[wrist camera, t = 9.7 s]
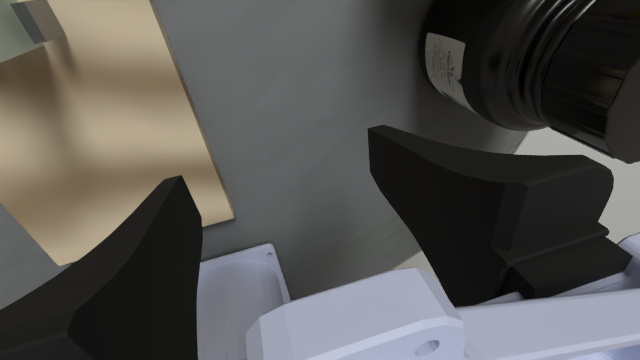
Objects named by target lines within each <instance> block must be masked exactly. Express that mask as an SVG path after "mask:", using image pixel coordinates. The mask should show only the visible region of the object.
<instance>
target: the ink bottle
mask: <svg viewBox="0 0 640 360" xmlns="http://www.w3.org/2000/svg"><path fill="white" fill-rule="evenodd" d="M419 56H420V63H421V67H422V70H423V73H424V75H425V77H426V79H427V80H428V82H429V83H430V84H431V85H432V87H433V88H434V89H435V90H437V91H438V92H439V93H440V94H442V95H444V96H445V97H447V98H449V99H451V100H452V101H454V102H456V103H458V104H460V105H461V106H463V107H465V108H467V109H469V110H470V111H472V112H474V113H476V114H478V115H479V116H481V117H483V118H485V119H487V120H489V121H490V122H492V123H494V124H496V125H498V126H500V127H503V128H506V129H510V130H515V131H533V130H539V129H543V128H546V127H549V128H551V129H552V130H554V131H556V132H558V133H560V134H562V135H564V136H567V137H569V138H571V139H573V140H575V141H577V142H580V143H581V144H583V145H585V146H588V147H590V148H592V149H594V150H596V151H598V152H600V153H602V154H604V155H607V156H609V157H611V158H613V159H615V158H616V159H618V160H621V161H623V162H625V163H627V164H632V163H634V162H639V161H640V0H434V1H433V3H432V5H431V7H430V9H429V11H428V14H427V16H426V19H425V22H424V25H423V28H422V32H421V37H420V45H419Z"/></svg>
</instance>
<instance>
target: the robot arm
mask: <svg viewBox="0 0 640 360" xmlns="http://www.w3.org/2000/svg"><path fill="white" fill-rule="evenodd" d="M368 143H369V160H370V172H371V174H372V176H373V178H374V180H375V182H376V184H377V186H378V187H379V189H380V191H381V192H382V194H383V195H384V196H385V198H386V199H387V200H388V202H389V203H390V204H391V206H392V207H393V208H394V210H395V211H396V212H397V214H398V215H399V216H400V218H401V219H402V220H403V222H404V223H405V224H406V226H407V227H408V228H409V230H410V231H411V233H412V234H413V236H414V237H415V239H416V240H417V242H418V244H419V246H420V247H421V249H422V251H423V252H424V254H425V256H426V257H427V259H428V261H429V263H430V265H431V267H432V268H433V270H434V272H435V274H436V276H437V277H438V279H439V281H440V283H441V285H442V287H443V289H444V291H445V293H446V295H447V296H446V295H445V293H444V292H443V290H442V289H441V288H440V286H439V285H438V283H437V282H436V280H435V279H434V277H433V276H432V275H431V274H430V273H427V272H425V271H422V270H420V269H417V268H404V269H396V270H389V271H386V272H383V273H380V274H377V275H373V276H370V277H367V278H364V279H361V280H357V281H354V282H351V283H348V284H345V285H341V286H338V287H335V288H332V289H329V290H325V291H322V292H319V293H316V294H313V295H309V296H306V297H303V298H300V299H296V300H293V301H291V299H290V296H289V293H288V289H287V286H286V283H285V280H284V277H283V274H282V271H281V268H280V264H279V261H278V258H277V255H276V252H275V249H274V246H273V245H272V244H270V243H268V244H264V245H260V246H257V247H253V248H250V249H246V250H243V251H239V252H236V253H232V254H229V255H225V256H222V257H218V258H215V259H211V260H208V261H204V262H201V263H200V261H201V251H202V241H203V235H202V217H201V215H200V213H199V210H198V208H197V206H196V204H195V202H194V200H193V198H192V196H191V193H190V191H189V189H188V187H187V185H186V183H185V181H184V179H183V176H182V175H179V176H175V177H171V178H167V179H164V180H163V181H162V182H161V183H160V184H159V185H158V186H157V187H156V188H155V189H154V190H153V191H152V192H151V193H150V194H149V195H148V196H147V198H146V199H145V200H144V201H143V202H142V203H141V204H140V205H139V206H138V207H137V208H136V209H135V210H134V211H133V213H132V214H130V215H129V216H128V217H127V218H126V219H125V220H124V221H123V222H122V223H121V224H120V225H119V226H118V227H117V228H116V229H115V230H114V231H113V232H112V233H111V234H110V235H109V236H108V237H106V238H105V239H104V240H103V241H102V242H101V243H99V244H98V245H97V246H96V247H95V248H93V249H92V250H91V251H90V252H88V253H87V254H86V255H85V256H83V257H82V258H81V259H79V260H78V261H76V262H75V263H74V264H72V265H71V266H69V267H68V268H67V269H65V270H64V271H62V272H61V273H60V274H58V275H57V276H55V277H54V278H52V279H51V280H49V281H48V282H46V283H45V284H43V285H42V286H40V287H38V288H37V289H35V290H34V291H32V292H30V293H29V294H27V295H25V296H24V297H22V298H20V299H19V300H17V301H15V302H14V303H12V304H10V305H8V306H7V307H5V308H3V309H1V310H0V360H640V232H639V233H637V234H633V235H630V236H628V237H626V238H624V239H622V240H621V241H620V242H618V243H617V244H615V243H614V242H612V241H611V240H609V239H608V238H606V237H605V236H607V235H608V234H609V230H608V228H606V227H605V226H603V225H601V224H600V223H599V222H598V220H599V218H600V216H601V214H602V212H603V210H604V208H605V206H606V204H607V202H608V200H609V197H610V195H611V192H612V189H613V182H614V178H613V175H612V172H611V170H610V169H608V168H607V167H606V166H604V165H602V164H600V163H598V162H596V161H594V160H592V159H590V158H588V157H586V156H584V155H549V156H538V155H514V154H501V153H492V152H484V151H477V150H471V149H466V148H460V147H455V146H451V145H447V144H443V143H439V142H436V141H432V140H429V139H426V138H422V137H419V136H416V135H413V134H410V133H407V132H404V131H402V130H399V129H396V128H392V127H389V126H385V125H380V126H376V127H372V128H368ZM267 253H270V254H267ZM447 297H448V298H447Z"/></svg>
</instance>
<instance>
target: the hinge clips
mask: <svg viewBox="0 0 640 360" xmlns="http://www.w3.org/2000/svg"><path fill="white" fill-rule="evenodd" d="M10 5H11V7H12V9H13V10H14V12H15V14H16V15H17V17H18V18H19V20H20V22H21V23H22V25H23V27H24V28H25V30H26V31H27V33H28V35H29V36H30V38H31V40H32V41H33V43H34V44H38V43H43V42H48V41H50V40H53V39H55V38H58V37H60V36H63V35H65V32H64V30H63V28H62V26H61V25H60V23H59V21H58V19H57V17H56V16H55V14H54V12H53V10H52V8H51V7H50V5H49V3H48V1H47V0H32V1H25V2H19V3H13V4H10Z"/></svg>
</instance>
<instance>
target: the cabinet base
mask: <svg viewBox="0 0 640 360" xmlns="http://www.w3.org/2000/svg"><path fill="white" fill-rule="evenodd" d="M25 1H32V0H18V2H25ZM47 1H48V3H49V5H50V7H51V8H52V10H53V12H54V14H55V16H56V17H57V19H58V21H59V23H60V25H61V26H62V28H63V30H64V32H65V35H63V36H60V37H58V38H55V39H53V40H50V41H48V42H43V44H44V45H43V46H40V47H38V48H36V49H33V50H31V51H28V52H26V53H23V54H21V55H18V56H16V57H14V58H11V59H9V60H6V61H4V62H1V63H0V203H1V204H2V205H3V206H4V207H5V208H6V209H7V210H8V211H9V213H10V214H11V215H12V216H13V217H14V218H15V219H16V220H17V221H18V222H19V223H20V224H21V226H22V227H23V228H24V229H25V230H26V231H27V232H28V233H29V234H30V235H31V236H32V237H33V239H34V240H35V241H36V242H37V243H38V244H39V245H40V246H41V247H42V248H43V249H44V250H45V252H46V253H47V254H48V255H49V256H50V257H51V258H52V259H53V260H54V261H55V262H56V263H57V265H58V266H61V265H64V264H68V263H72V262H75V261H78V260H79V259H81V258H82V257H83V256H85V255H86V254H87V253H88V252H90V251H91V250H92V249H93V248H95V247H96V246H97V245H98V244H99V243H101V242H102V241H103V240H104V239H105V238H106V237H108V236H109V235H110V234H111V233H112V232H113V231H114V230H115V229H116V228H117V227H118V226H119V225H120V224H121V223H122V222H123V221H124V220H125V219H126V218H127V217H128V216H129V215H130V214H132V213H133V211H134V210H135V209H136V208H137V207H138V206H139V205H140V204H141V203H142V202H143V201H144V200H145V199H146V198H147V196H148V195H149V194H150V193H151V192H152V191H153V190H154V189H155V188H156V187H157V186H158V185H159V184H160V183H161V182H162V181H163V180H164V179H167V178H171V177H175V176H179V175H182V176H183V179H184V181H185V183H186V185H187V187H188V189H189V191H190V193H191V196H192V198H193V200H194V202H195V204H196V206H197V208H198V210H199V213H200V215H201V217H202V227H204V226H208V225H212V224H215V223H219V222H223V221H226V220H230V219H234V209H233V206H232V203H231V201H230V198H229V196H228V193H227V190H226V188H225V185H224V183H223V180H222V177H221V175H220V172H219V170H218V167H217V165H216V162H215V159H214V157H213V154H212V152H211V149H210V146H209V144H208V141H207V139H206V136H205V133H204V131H203V128H202V126H201V123H200V120H199V118H198V115H197V113H196V110H195V108H194V105H193V102H192V100H191V97H190V95H189V92H188V89H187V87H186V84H185V82H184V79H183V76H182V74H181V71H180V69H179V66H178V63H177V61H176V58H175V56H174V53H173V51H172V48H171V45H170V43H169V40H168V38H167V35H166V32H165V30H164V27H163V25H162V22H161V19H160V17H159V14H158V12H157V9H156V6H155V4H154V1H153V0H47Z"/></svg>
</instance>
